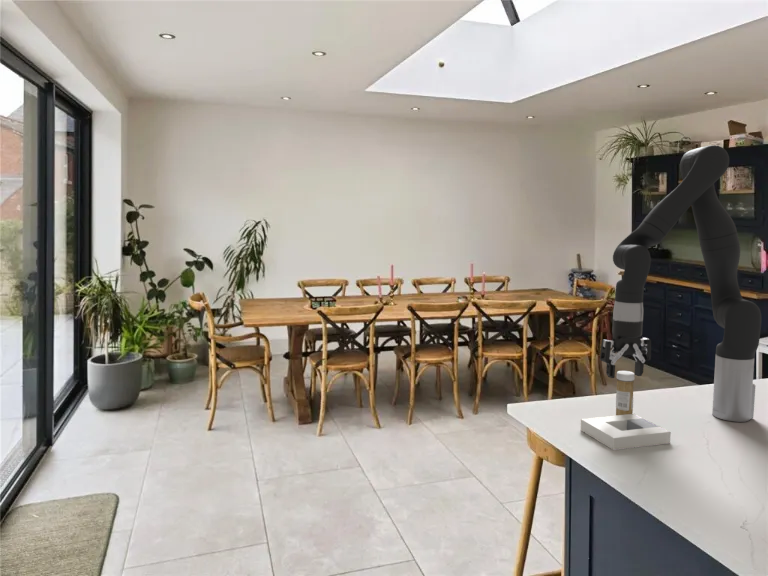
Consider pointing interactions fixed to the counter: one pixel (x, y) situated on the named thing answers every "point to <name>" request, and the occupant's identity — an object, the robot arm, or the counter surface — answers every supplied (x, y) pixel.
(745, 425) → the counter surface
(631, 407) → the sprinkles bottle
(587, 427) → the housing
